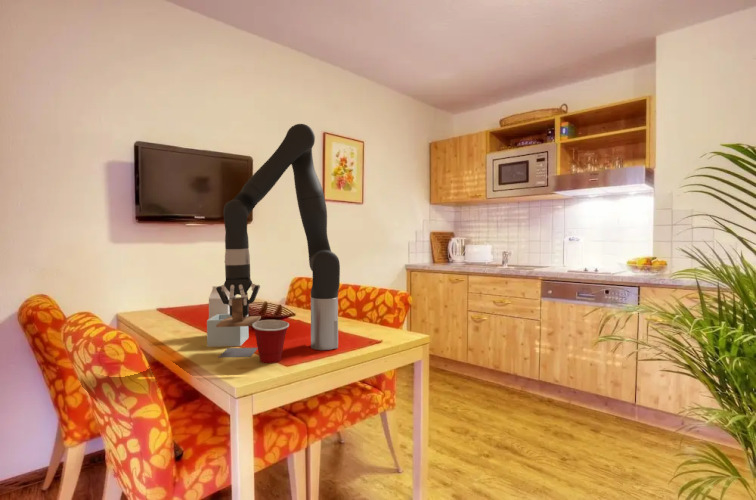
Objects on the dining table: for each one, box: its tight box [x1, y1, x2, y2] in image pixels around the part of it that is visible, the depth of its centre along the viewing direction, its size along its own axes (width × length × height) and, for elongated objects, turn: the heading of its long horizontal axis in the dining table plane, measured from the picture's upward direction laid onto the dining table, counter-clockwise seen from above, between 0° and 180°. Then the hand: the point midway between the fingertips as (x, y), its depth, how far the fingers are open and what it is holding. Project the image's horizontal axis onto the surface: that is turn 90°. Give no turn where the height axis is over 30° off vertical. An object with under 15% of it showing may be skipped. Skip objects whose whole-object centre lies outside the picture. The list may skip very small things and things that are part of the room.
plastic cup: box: [251, 319, 290, 364], centre depth 119 cm, size 11×11×12 cm
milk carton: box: [208, 286, 230, 319], centre depth 149 cm, size 7×7×19 cm
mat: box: [217, 347, 258, 358], centre depth 127 cm, size 10×10×1 cm
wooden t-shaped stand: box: [216, 296, 262, 327], centre depth 127 cm, size 11×11×8 cm
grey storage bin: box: [206, 314, 250, 348], centre depth 140 cm, size 11×11×10 cm
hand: (239, 316), depth 127 cm, fingers closed on wooden t-shaped stand, 3 cm apart
